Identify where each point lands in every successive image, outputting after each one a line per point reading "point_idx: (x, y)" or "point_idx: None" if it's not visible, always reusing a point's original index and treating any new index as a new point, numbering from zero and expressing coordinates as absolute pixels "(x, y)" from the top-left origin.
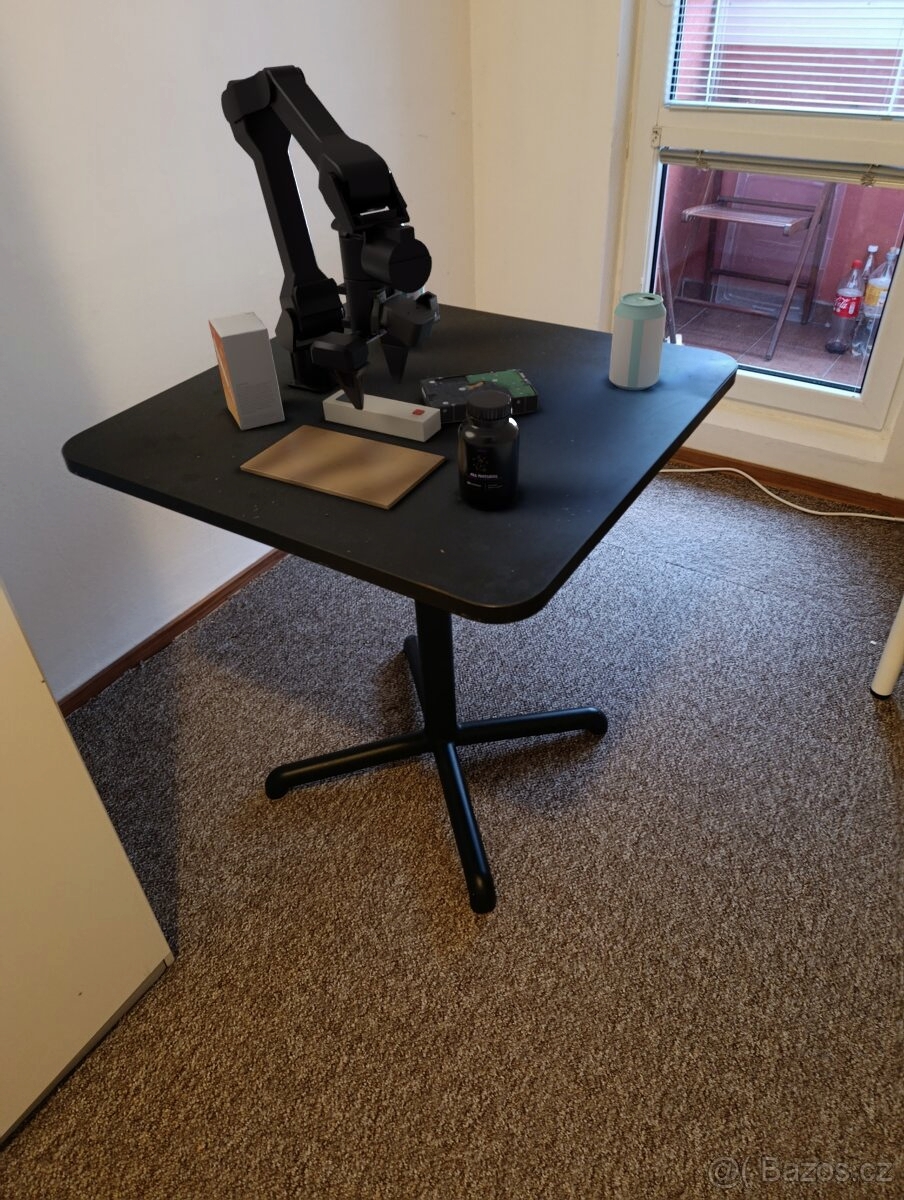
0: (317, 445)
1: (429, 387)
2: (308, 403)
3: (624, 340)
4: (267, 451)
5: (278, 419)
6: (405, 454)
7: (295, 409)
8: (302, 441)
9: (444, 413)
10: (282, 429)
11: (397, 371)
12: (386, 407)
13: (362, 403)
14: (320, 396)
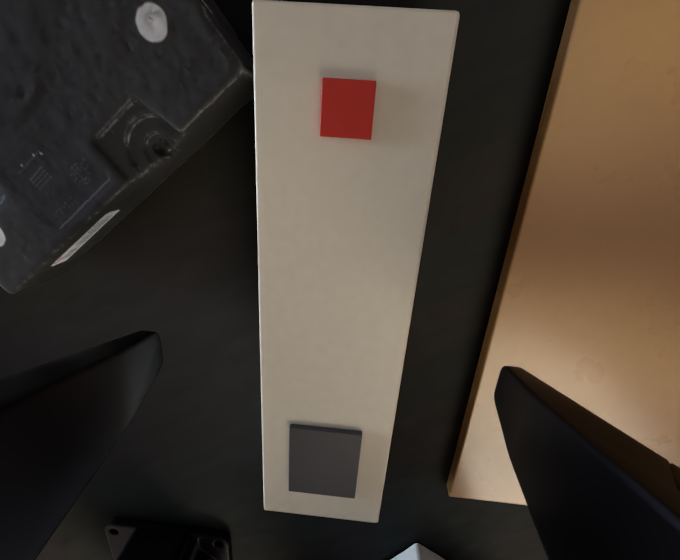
0: (589, 409)
1: (47, 217)
2: (294, 532)
3: None
4: None
5: (431, 556)
6: (636, 38)
7: (340, 543)
8: None
9: (217, 16)
10: (465, 526)
11: (114, 381)
12: (345, 300)
13: (537, 383)
14: (242, 525)
